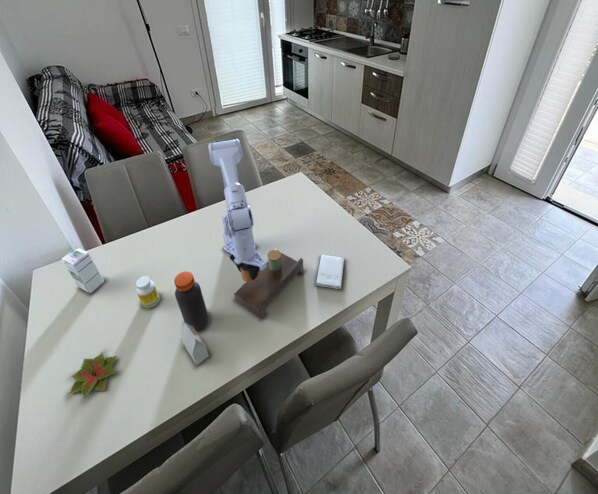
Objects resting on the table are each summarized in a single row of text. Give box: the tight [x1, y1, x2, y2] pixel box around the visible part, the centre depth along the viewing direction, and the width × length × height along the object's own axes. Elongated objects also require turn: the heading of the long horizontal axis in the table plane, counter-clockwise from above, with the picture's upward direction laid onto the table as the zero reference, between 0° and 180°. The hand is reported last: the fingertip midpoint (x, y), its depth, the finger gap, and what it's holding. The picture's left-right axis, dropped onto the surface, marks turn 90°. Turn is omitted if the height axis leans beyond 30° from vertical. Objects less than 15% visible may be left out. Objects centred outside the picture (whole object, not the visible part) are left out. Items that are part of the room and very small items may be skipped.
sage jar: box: [267, 249, 282, 271], centre depth 111 cm, size 5×5×6 cm
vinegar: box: [173, 271, 210, 332], centre depth 94 cm, size 7×7×20 cm
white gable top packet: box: [180, 322, 210, 366], centre depth 90 cm, size 4×7×10 cm, turn 42°
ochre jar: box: [240, 263, 253, 283], centre depth 101 cm, size 5×5×6 cm
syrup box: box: [61, 247, 105, 294], centre depth 108 cm, size 6×6×14 cm
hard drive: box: [315, 254, 345, 290], centre depth 114 cm, size 2×8×12 cm
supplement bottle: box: [135, 276, 160, 309], centre depth 104 cm, size 5×5×10 cm
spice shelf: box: [233, 252, 304, 319], centre depth 109 cm, size 11×22×6 cm, turn 144°
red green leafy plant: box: [67, 351, 118, 400], centre depth 86 cm, size 12×12×5 cm
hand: (248, 273), depth 102 cm, fingers closed on ochre jar, 4 cm apart
